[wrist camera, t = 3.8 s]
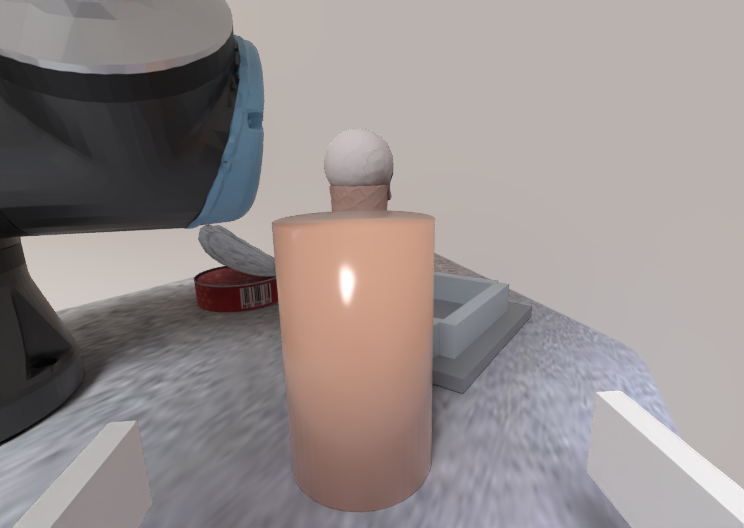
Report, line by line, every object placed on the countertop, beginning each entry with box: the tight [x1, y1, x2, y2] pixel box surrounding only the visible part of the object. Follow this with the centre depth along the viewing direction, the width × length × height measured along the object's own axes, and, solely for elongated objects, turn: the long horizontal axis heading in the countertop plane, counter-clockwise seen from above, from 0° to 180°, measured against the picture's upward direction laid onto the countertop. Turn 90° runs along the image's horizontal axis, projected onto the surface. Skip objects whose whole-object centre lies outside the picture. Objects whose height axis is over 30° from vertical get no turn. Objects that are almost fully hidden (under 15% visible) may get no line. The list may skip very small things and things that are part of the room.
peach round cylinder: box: [272, 210, 435, 512], centre depth 19 cm, size 7×7×12 cm
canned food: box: [194, 224, 278, 312], centre depth 45 cm, size 11×10×10 cm
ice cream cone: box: [324, 129, 393, 212], centre depth 64 cm, size 11×11×20 cm
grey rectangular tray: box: [432, 271, 532, 393], centre depth 36 cm, size 16×16×4 cm
